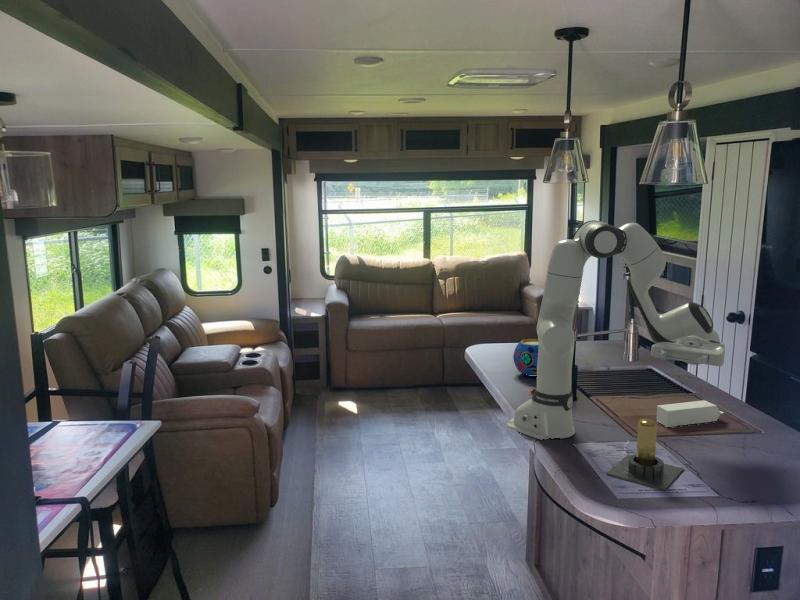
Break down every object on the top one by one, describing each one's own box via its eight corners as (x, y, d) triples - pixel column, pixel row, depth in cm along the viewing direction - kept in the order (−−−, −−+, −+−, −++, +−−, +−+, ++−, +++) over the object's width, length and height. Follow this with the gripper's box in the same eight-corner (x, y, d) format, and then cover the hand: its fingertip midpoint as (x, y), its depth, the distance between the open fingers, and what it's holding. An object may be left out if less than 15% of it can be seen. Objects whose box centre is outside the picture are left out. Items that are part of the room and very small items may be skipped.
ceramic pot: (517, 382, 268) (517, 347, 266) (509, 370, 286) (510, 337, 283) (559, 381, 268) (559, 346, 266) (549, 369, 286) (549, 336, 283)
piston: (633, 471, 181) (635, 422, 178) (639, 465, 185) (641, 417, 182) (651, 476, 178) (653, 426, 175) (657, 469, 181) (659, 420, 179)
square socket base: (606, 474, 180) (606, 462, 180) (627, 456, 192) (628, 445, 192) (664, 490, 170) (665, 478, 169) (683, 470, 182) (684, 458, 182)
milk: (656, 421, 219) (711, 415, 225) (667, 428, 214) (723, 421, 219) (657, 404, 218) (712, 399, 224) (668, 410, 213) (725, 404, 218)
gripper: (659, 335, 203) (644, 343, 192) (730, 344, 190) (717, 353, 179) (658, 354, 204) (643, 364, 194) (728, 364, 191) (716, 375, 180)
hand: (679, 359), depth 186 cm, fingers open, 8 cm apart
